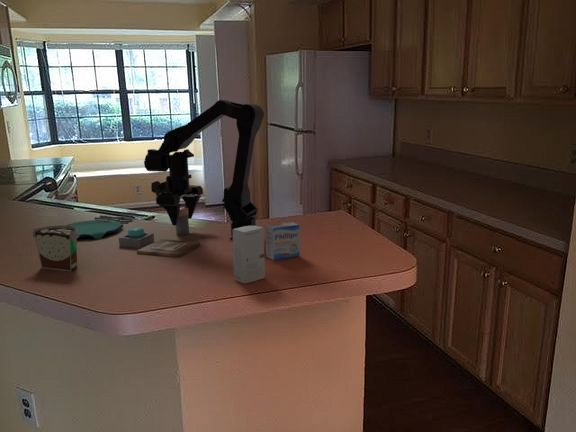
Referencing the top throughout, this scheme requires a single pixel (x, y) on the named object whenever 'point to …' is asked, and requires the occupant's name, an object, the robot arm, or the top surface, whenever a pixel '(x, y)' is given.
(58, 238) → the food container
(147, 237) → the button housing
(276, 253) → the medicine box
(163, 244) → the drawing board
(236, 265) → the skincare box
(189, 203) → the robot arm
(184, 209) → the pink and grey capsule
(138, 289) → the top surface
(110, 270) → the top surface
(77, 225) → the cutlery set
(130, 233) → the button
